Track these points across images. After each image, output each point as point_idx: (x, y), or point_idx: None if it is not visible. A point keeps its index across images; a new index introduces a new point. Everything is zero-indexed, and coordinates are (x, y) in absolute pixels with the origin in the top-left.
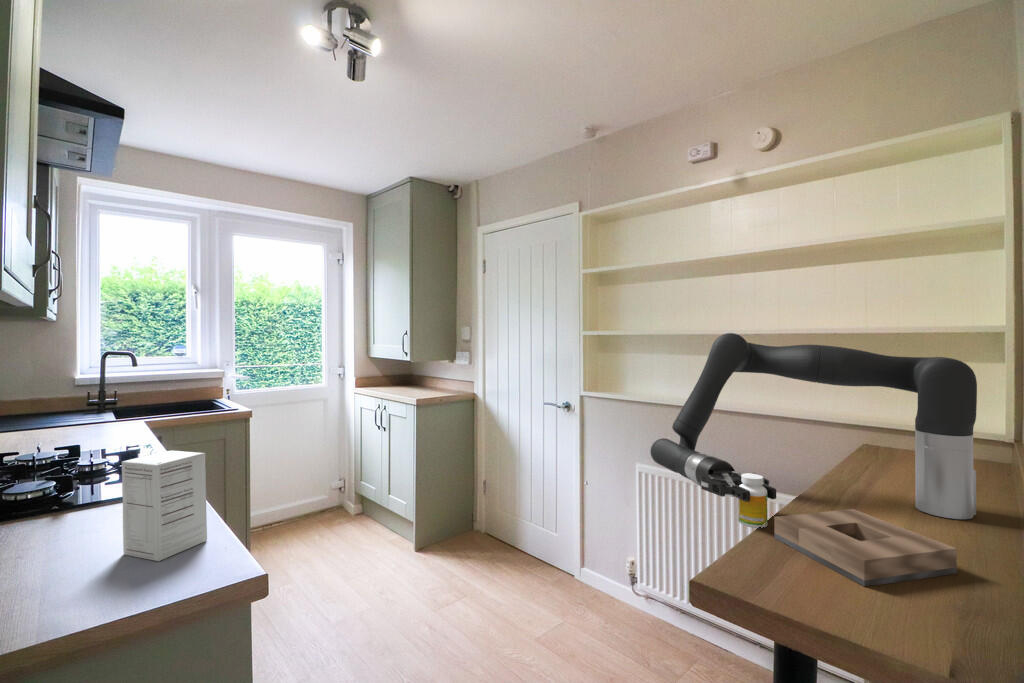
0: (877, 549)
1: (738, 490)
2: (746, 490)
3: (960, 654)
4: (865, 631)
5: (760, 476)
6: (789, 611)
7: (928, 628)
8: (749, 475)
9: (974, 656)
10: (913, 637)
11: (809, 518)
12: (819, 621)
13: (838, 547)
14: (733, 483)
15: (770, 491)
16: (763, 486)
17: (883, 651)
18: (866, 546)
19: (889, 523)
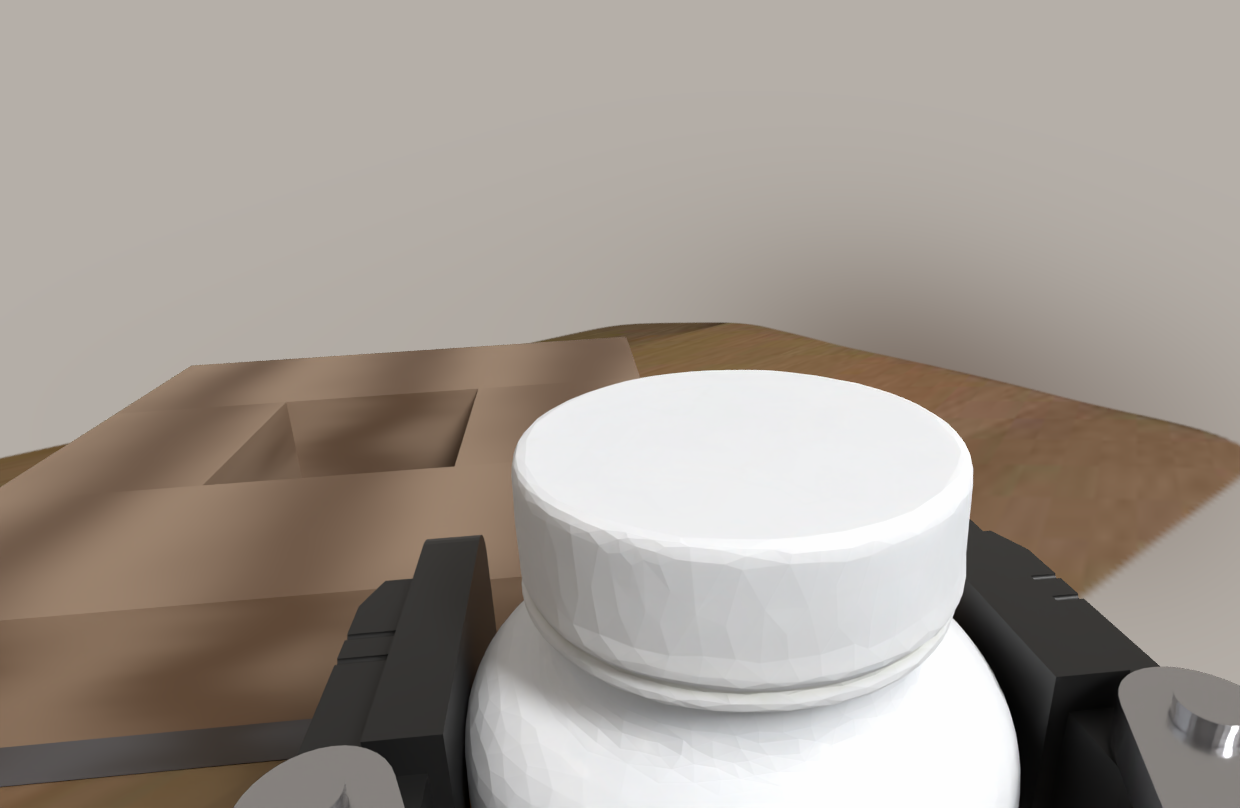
0: (490, 363)
1: (1050, 585)
2: None
3: (658, 335)
4: (792, 355)
5: (581, 415)
6: (947, 380)
7: (639, 358)
8: (777, 452)
9: (638, 334)
10: (702, 349)
11: (433, 531)
12: (883, 366)
13: (632, 368)
14: (1159, 756)
15: (482, 603)
16: (457, 684)
17: (800, 337)
18: (505, 371)
19: (31, 473)
